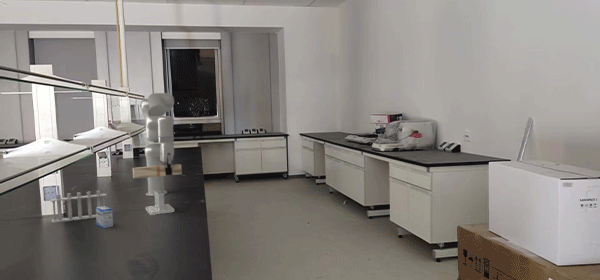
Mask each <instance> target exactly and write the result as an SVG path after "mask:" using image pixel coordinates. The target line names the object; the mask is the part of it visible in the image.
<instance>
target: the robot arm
mask: <svg viewBox="0 0 600 280" xmlns="http://www.w3.org/2000/svg"><path fill="white" fill-rule="evenodd" d="M174 105H175V98H174V95H172V94H171V93H169V92H155V93H151V94H150V95H148V97H147V98H144V99H142V100H140V110H141V113H142V115H143V117H144V123H145V136H146V140H147V142H151V144H150V143H149V144H147V145H146V146H145V147H144V155H145V161H146V167H150V166H162V165H166V168H165V172H166V175H167V176H173V175H172V165H173V164H172V162H173V161H174V155H175V146H174V145H175V141H174V139H175V138H174V124H175V122H174V118H173V117H172V116H170V115H166V113H168V112H171V110H172V109H173V107H174ZM157 142H158V143H157ZM159 160H160V161H159ZM164 177H165V176H157V177H147V191H148V192H146V193H145V196H147V197H155V194H154V190H160V191H161V192H162V193H164V196H165V195H166V194H168V191H167V190H165V180H164Z"/></svg>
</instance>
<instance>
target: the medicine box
mask: <svg viewBox="0 0 600 280" xmlns="http://www.w3.org/2000/svg"><path fill="white" fill-rule="evenodd" d="M95 215H96V218H95V219H96V226H98V227H99V228H102V229H107V228H112V227H113V226H114V220H113V219H114V218H113V208H111V207H109V206H106V205H105V206H103V205H101V207H98V206H96V207H95Z"/></svg>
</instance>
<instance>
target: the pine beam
mask: <svg viewBox="0 0 600 280" xmlns="http://www.w3.org/2000/svg"><path fill="white" fill-rule="evenodd" d="M171 165H172V175H171V176H173V175H174V176H175V175H177V176H178V175H182V173H183V172H182V164H181V163H175V164H171ZM165 168H166V165H163V164H162V166H150V167H147V166H140V167H132V178H133V179H135V180H136V179H145V178H147V179H148V177H157V176H164V177H165V176H166V177H167V176H168V175H166V172H165Z"/></svg>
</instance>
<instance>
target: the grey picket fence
mask: <svg viewBox="0 0 600 280" xmlns="http://www.w3.org/2000/svg"><path fill="white" fill-rule="evenodd" d="M107 196H108V195H107V193H101V190H96V194H91V191H86V195H82V193H81V192H77V193H76V196H72V194H71V193H66V197H62V195H61V194H56V198H51V199H50V200H49V201H50V202H52V210H53V219H51V221H50V223H51V224H55V223H64V222H65V223H66V222H71V221H72V222H73V220H74V221H79V220H80V221H81V219H82V220H88V219H89V218H90V219H96V214H93V210H92V198H96V204H97V206H96V207H101V206H106V200H105V199H106V198H105V197H107ZM101 197H102V198H101ZM82 199H87V200H86V202H87V213H88V215H83V209H82V207H83V206H82ZM72 200H76V201H77V203H76V204H77V213H78V215H77V216H73V209H72ZM62 201H67V202H66V204H67V217H63V215H62V214H63V213H62V212H63V211H62ZM55 202H56V203H55ZM56 207H57V208H56ZM56 209H57V218H56ZM90 219H89V220H90Z"/></svg>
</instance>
